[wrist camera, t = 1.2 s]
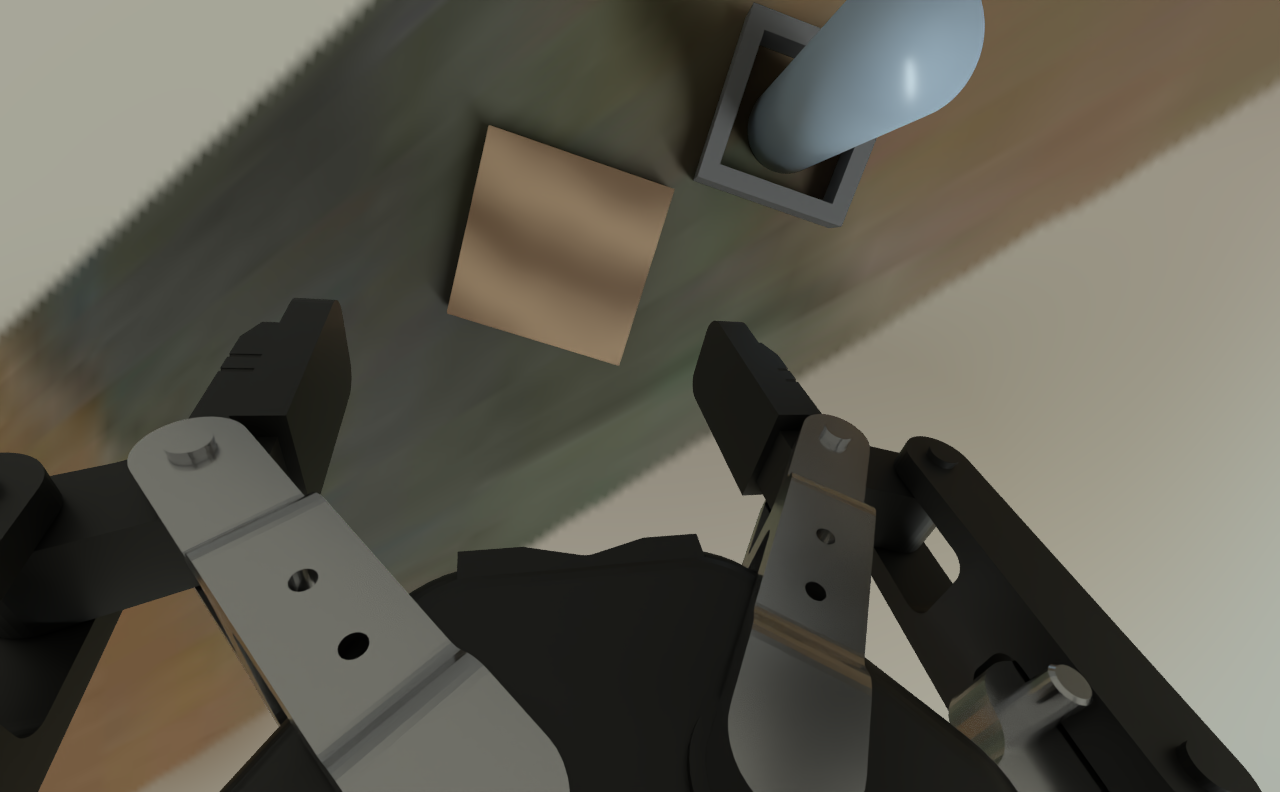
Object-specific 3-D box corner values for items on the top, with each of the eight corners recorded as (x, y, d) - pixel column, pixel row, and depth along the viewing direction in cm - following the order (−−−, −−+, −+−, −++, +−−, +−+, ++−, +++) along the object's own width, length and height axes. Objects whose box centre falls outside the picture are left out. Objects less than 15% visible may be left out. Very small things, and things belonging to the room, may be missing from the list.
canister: (765, 68, 31) (875, -72, 17) (844, 98, 31) (1011, -16, 18) (735, 157, 32) (816, 91, 19) (811, 184, 33) (944, 140, 19)
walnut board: (494, 130, 31) (488, 124, 30) (672, 191, 32) (674, 189, 31) (454, 310, 34) (446, 313, 32) (619, 360, 35) (618, 365, 34)
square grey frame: (745, 17, 30) (753, 2, 28) (889, 73, 31) (906, 62, 29) (693, 180, 32) (697, 176, 30) (828, 227, 33) (841, 226, 31)
